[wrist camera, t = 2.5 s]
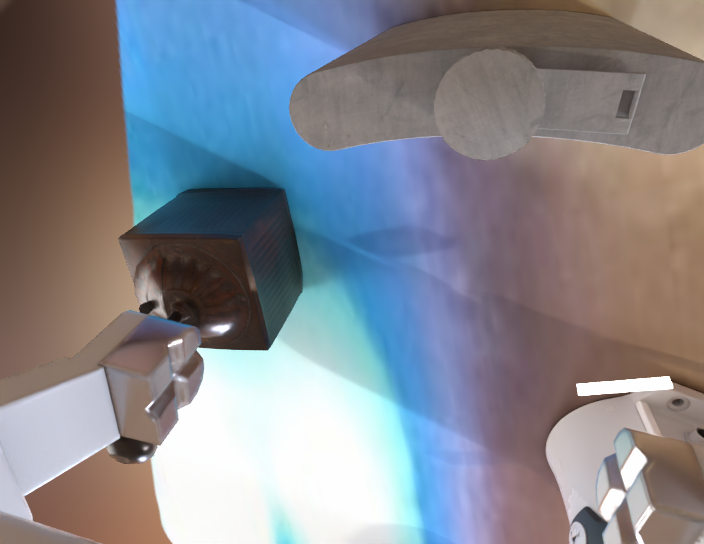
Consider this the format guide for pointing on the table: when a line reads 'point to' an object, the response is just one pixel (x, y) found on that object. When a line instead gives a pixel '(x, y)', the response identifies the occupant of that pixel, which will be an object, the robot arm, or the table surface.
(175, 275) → the dark brown coffee grinder
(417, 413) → the table surface
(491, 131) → the hip flask
